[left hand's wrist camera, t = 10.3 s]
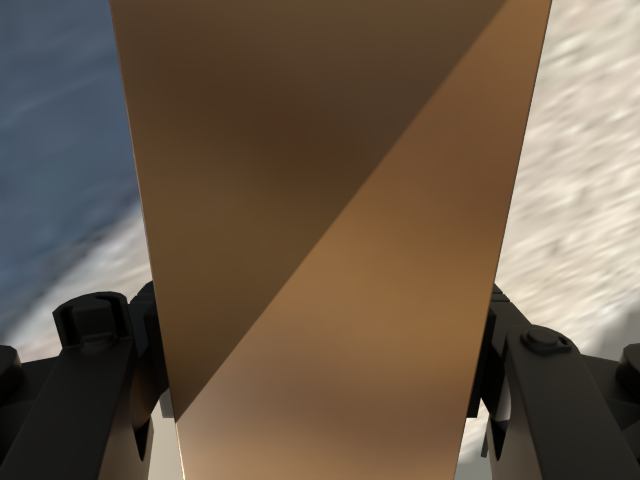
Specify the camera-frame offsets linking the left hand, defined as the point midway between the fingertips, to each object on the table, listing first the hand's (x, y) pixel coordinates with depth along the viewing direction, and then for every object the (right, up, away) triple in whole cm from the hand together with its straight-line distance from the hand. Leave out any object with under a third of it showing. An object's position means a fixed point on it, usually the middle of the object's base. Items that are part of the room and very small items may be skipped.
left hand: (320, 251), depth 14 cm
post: (+1, +34, -12) cm, 36 cm away
